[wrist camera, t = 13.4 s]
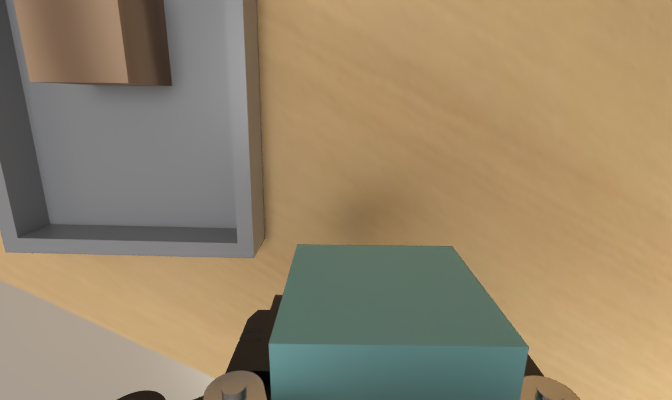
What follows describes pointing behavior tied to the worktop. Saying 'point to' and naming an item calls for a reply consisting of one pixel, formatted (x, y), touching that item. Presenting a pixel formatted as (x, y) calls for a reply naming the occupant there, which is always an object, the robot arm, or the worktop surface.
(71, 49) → the walnut block
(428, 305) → the teal block
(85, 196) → the tray
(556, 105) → the worktop surface
